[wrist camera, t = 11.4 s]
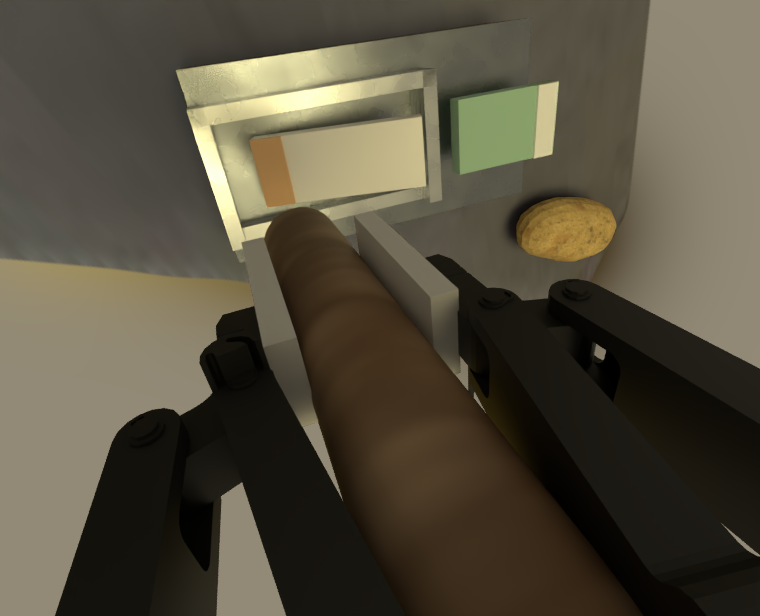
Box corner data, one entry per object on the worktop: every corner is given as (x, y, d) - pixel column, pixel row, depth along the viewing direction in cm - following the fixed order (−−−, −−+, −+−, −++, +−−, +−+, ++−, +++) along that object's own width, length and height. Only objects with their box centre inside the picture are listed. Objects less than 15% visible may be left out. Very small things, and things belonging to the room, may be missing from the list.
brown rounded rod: (274, 286, 20) (467, 905, 5) (254, 217, 18) (461, 859, 4) (344, 267, 21) (681, 763, 6) (331, 199, 19) (765, 668, 4)
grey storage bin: (235, 236, 38) (241, 276, 31) (180, 68, 31) (173, 71, 24) (486, 176, 43) (539, 199, 36) (487, 23, 36) (554, 14, 29)
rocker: (270, 200, 31) (267, 207, 30) (253, 136, 28) (248, 140, 27) (424, 181, 30) (426, 187, 29) (419, 113, 28) (422, 117, 27)
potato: (573, 247, 52) (613, 268, 47) (495, 249, 48) (529, 272, 43) (592, 192, 49) (637, 207, 44) (510, 189, 45) (549, 206, 40)
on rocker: (452, 171, 33) (461, 175, 31) (450, 98, 30) (459, 100, 29) (542, 150, 34) (554, 153, 33) (548, 80, 32) (561, 81, 30)
